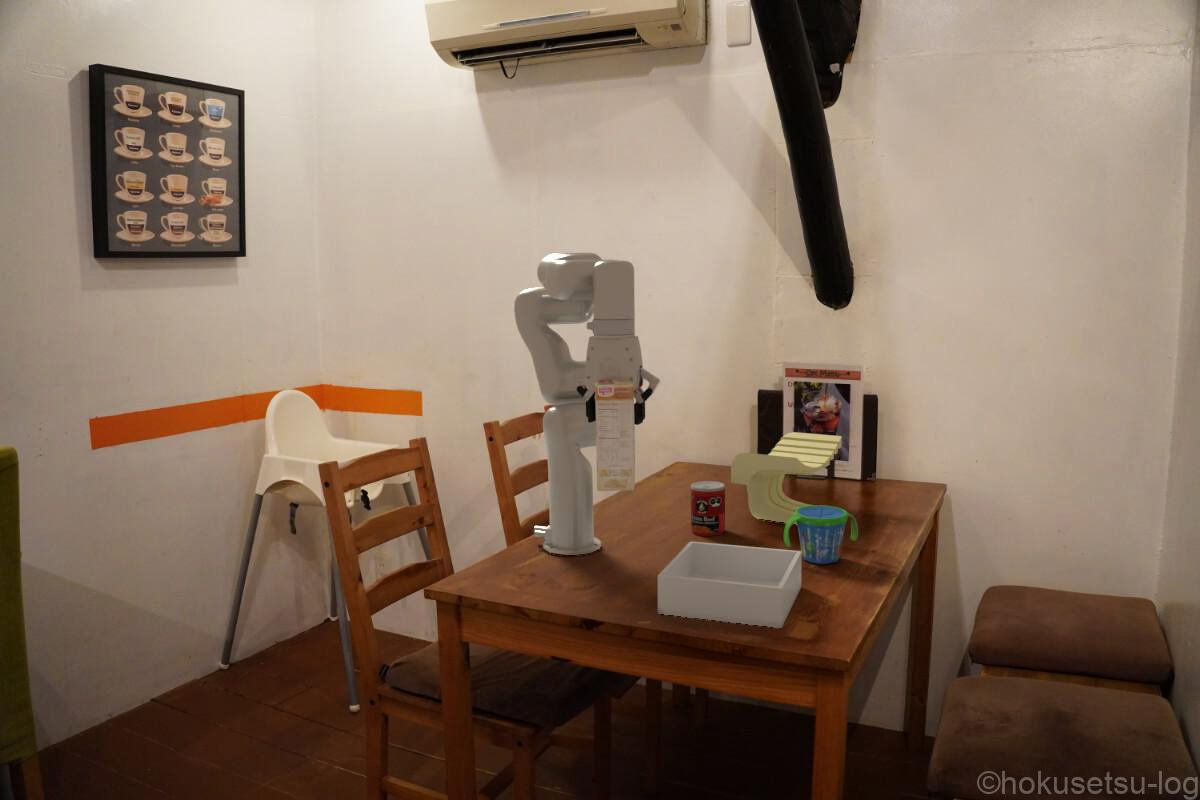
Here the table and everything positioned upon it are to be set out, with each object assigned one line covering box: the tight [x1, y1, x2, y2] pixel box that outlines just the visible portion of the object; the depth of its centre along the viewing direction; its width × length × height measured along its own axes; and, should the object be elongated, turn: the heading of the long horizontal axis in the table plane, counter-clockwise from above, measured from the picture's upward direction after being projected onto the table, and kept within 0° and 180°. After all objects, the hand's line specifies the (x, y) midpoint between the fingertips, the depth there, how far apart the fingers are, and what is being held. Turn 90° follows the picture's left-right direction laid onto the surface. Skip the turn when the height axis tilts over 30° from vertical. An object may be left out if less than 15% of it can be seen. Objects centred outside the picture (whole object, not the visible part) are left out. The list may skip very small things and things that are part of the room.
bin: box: [657, 540, 803, 629], centre depth 170 cm, size 22×22×7 cm
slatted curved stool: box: [730, 431, 843, 526], centre depth 226 cm, size 30×16×18 cm, turn 147°
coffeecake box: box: [595, 380, 636, 492], centre depth 174 cm, size 15×7×20 cm, turn 178°
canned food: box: [690, 480, 726, 537], centre depth 214 cm, size 8×8×11 cm
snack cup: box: [783, 504, 859, 565], centre depth 193 cm, size 16×10×10 cm
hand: (615, 422), depth 174 cm, fingers closed on coffeecake box, 8 cm apart
